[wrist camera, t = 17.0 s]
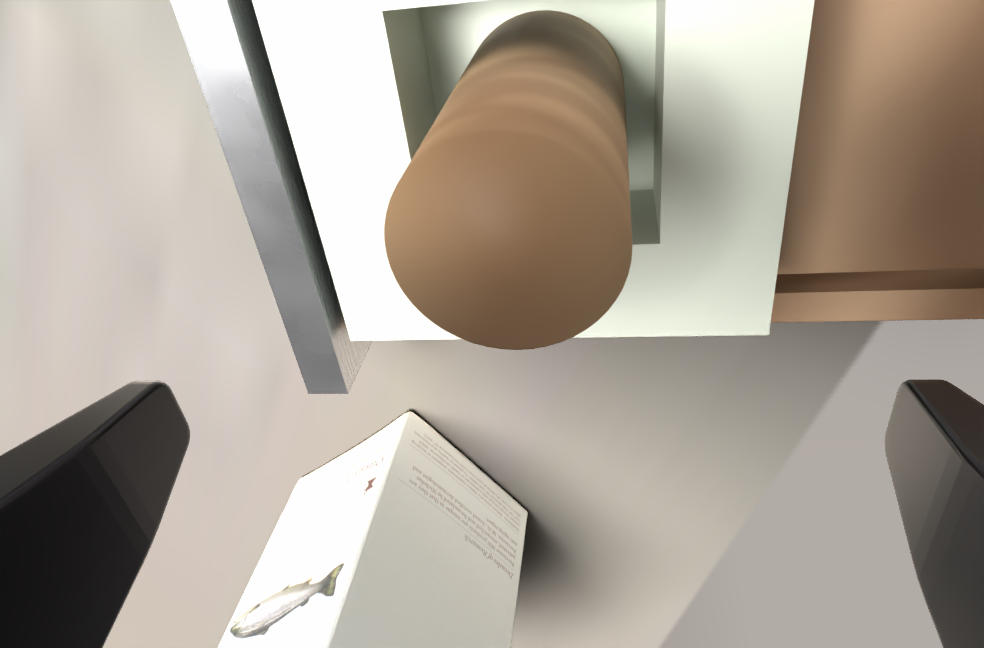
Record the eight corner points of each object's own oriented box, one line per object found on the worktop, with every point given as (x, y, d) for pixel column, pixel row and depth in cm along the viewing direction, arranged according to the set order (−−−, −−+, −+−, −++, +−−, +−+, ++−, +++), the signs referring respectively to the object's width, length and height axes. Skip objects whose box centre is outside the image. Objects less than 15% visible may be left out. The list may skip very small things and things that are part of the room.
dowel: (623, 2, 16) (632, 120, 10) (625, 165, 18) (632, 349, 12) (455, 17, 17) (359, 138, 10) (477, 172, 19) (408, 350, 13)
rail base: (1514, -424, 12) (1982, -551, 8) (1160, 277, 20) (1300, 394, 16) (221, -209, 16) (93, -220, 12) (358, 297, 24) (308, 393, 20)
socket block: (797, -212, 14) (844, -221, 11) (746, 265, 20) (768, 334, 17) (282, -138, 16) (214, -130, 13) (382, 276, 22) (350, 340, 19)
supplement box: (410, 402, 27) (288, 760, 16) (533, 511, 29) (493, 875, 19) (293, 475, 30) (132, 807, 20) (412, 566, 33) (324, 899, 23)
